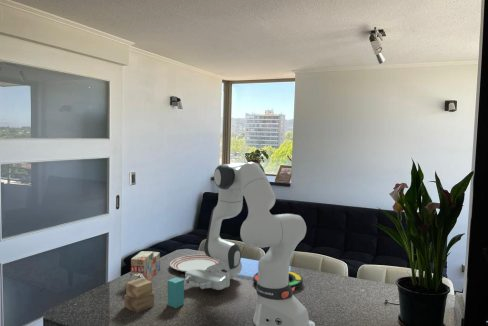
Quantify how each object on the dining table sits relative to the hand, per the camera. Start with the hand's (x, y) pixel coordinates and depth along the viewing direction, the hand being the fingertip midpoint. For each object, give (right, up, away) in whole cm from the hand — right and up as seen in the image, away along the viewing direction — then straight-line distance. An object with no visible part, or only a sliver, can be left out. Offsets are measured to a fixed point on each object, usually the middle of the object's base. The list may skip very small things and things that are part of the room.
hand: (192, 284), depth 157 cm
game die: (-25, -5, +6) cm, 26 cm away
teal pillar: (-6, -6, -7) cm, 11 cm away
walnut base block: (-20, -6, -9) cm, 23 cm away
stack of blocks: (-25, -4, +23) cm, 35 cm away
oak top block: (-20, -1, -10) cm, 22 cm away
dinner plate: (-3, -4, +38) cm, 38 cm away
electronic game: (+37, -6, +17) cm, 41 cm away
